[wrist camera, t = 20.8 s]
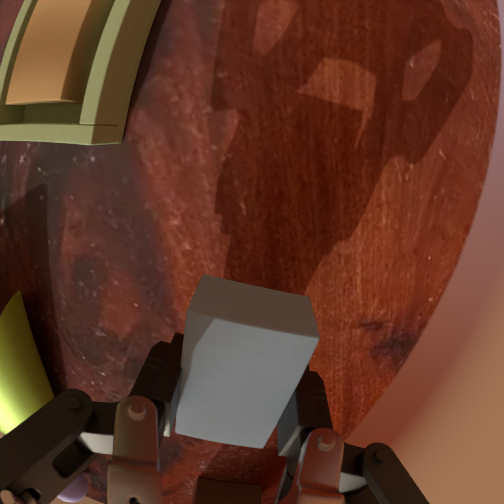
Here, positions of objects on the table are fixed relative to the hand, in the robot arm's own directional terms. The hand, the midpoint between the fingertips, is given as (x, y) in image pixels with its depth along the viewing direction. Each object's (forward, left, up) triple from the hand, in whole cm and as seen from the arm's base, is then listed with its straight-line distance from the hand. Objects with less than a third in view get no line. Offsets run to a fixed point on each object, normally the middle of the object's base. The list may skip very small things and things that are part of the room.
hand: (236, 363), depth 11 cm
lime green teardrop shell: (+21, +1, -4) cm, 22 cm away
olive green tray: (+3, -17, -4) cm, 17 cm away
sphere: (+36, +22, -4) cm, 42 cm away
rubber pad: (0, 0, -1) cm, 1 cm away
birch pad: (+3, -17, -3) cm, 17 cm away
